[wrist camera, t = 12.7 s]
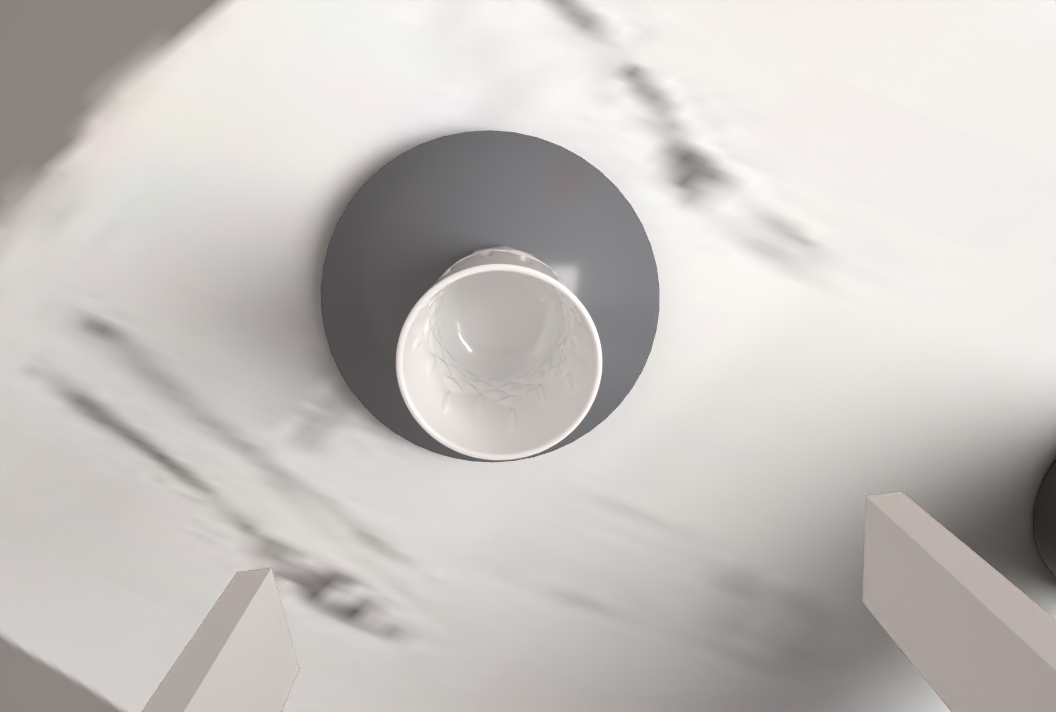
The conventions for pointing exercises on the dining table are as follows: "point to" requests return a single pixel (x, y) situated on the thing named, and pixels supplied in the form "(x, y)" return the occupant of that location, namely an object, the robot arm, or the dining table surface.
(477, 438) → the white cup
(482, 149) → the slate plate
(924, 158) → the dining table surface
